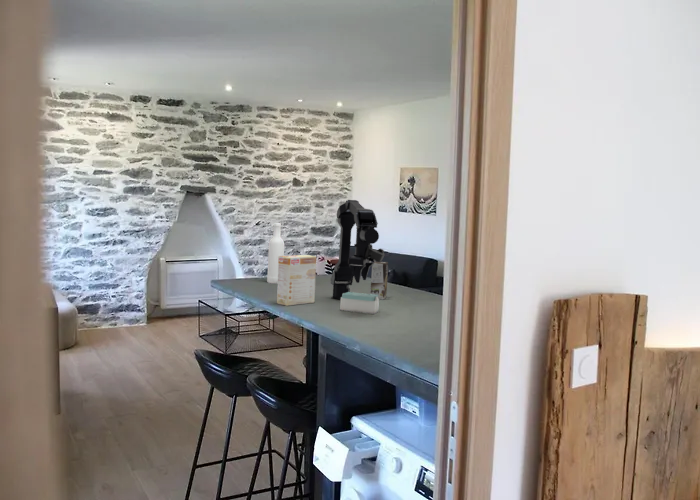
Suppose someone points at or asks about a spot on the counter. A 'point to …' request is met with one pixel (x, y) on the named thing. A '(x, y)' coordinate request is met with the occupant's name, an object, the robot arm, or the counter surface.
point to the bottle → (275, 254)
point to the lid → (359, 296)
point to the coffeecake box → (296, 279)
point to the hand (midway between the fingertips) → (361, 281)
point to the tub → (360, 305)
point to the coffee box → (379, 279)
